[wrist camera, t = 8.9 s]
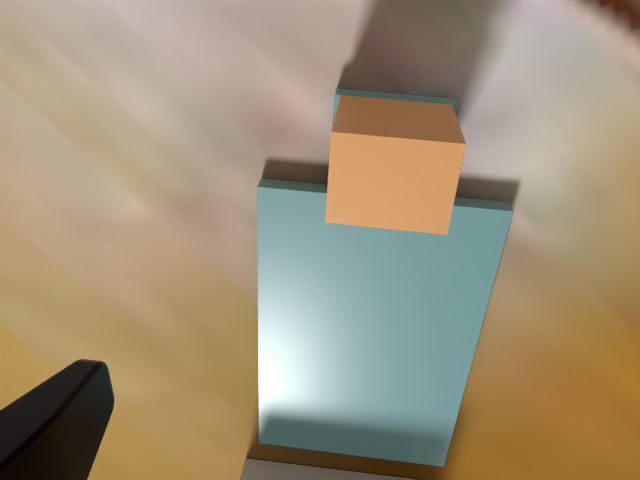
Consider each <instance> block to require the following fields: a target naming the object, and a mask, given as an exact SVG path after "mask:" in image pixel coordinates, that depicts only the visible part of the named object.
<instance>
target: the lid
mask: <svg viewBox="0 0 640 480" xmlns="http://www.w3.org/2000/svg"><path fill="white" fill-rule="evenodd" d="M457 108H458V104H457V101H456V98H447V97H435V96H423V95H411V94H399V93H387V92H375V91H363V90H351V89H339V88H337V89H336V93H335V101H334V115H333V127H332V131H331V142H330V156H329V171H328V185H327V184H316V183H306V182H295V181H285V180H274V179H264V178H261V180H260V182H259V184H258V186H257V207H258V365H259V443H261V444H269V445H277V446H285V447H292V448H300V449H308V450H316V451H324V452H331V453H339V454H347V455H355V456H363V457H370V458H378V459H386V460H394V461H402V462H409V463H417V464H425V465H433V466H441V467H444V463H445V460H446V456H447V452H448V449H449V445H450V441H451V438H452V434H453V430H454V427H455V423H456V419H457V416H458V412H459V408H460V405H461V401H462V397H463V394H464V390H465V386H466V383H467V379H468V375H469V372H470V368H471V364H472V361H473V357H474V353H475V350H476V346H477V342H478V339H479V335H480V331H481V328H482V324H483V320H484V317H485V313H486V309H487V306H488V302H489V298H490V295H491V291H492V287H493V284H494V280H495V276H496V273H497V269H498V265H499V262H500V258H501V254H502V251H503V247H504V243H505V240H506V236H507V232H508V228H509V225H510V221H511V217H512V214H513V210H512V208H511V206H510V203H509V202H505V201H495V200H484V199H474V198H463V197H455V195H456V190H457V185H458V180H459V175H460V171H461V166H462V161H463V156H464V151H465V146H466V143H465V140H464V137H463V134H462V131H461V129H460V126H459V123H458V120H457V118H456V114H457Z"/></svg>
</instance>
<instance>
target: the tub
mask: <svg viewBox="0 0 640 480" xmlns="http://www.w3.org/2000/svg"><path fill="white" fill-rule="evenodd" d="M240 480H415V479H410V478H402V477H393V476H385V475H377V474H369V473H361V472H353V471H345V470H337V469H329V468H320V467H312V466H304V465H296V464H288V463H280V462H272V461H264V460H256V459H247V458H246V459H245V463H244V467H243V470H242V474H241V478H240Z"/></svg>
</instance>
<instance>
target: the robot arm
mask: <svg viewBox="0 0 640 480" xmlns="http://www.w3.org/2000/svg"><path fill="white" fill-rule="evenodd" d="M113 406H114V394H113V389H112V385H111V380H110V375H109V371H108V367H107V365H106V364H105V363H104V362H102V361H96V360H87V359H80V360H77V361H75V362H74V363H72V364H71V365H69V366H67V367H66V368H64V369H63V370H61V371H60V372H58V373H57V374H55V375H54V376H52V377H51V378H49V379H48V380H46V381H44V382H43V383H41V384H40V385H38V386H37V387H35V388H34V389H32V390H31V391H29V392H28V393H26V394H25V395H23V396H21V397H20V398H18V399H17V400H15V401H14V402H12V403H11V404H9V405H8V406H6V407H5V408H3V409H2V410H0V480H87V479H88V476H89V473H90V471H91V468H92V465H93V463H94V460H95V457H96V454H97V452H98V449H99V446H100V444H101V441H102V438H103V435H104V433H105V430H106V427H107V425H108V422H109V419H110V416H111V414H112V411H113Z"/></svg>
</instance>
